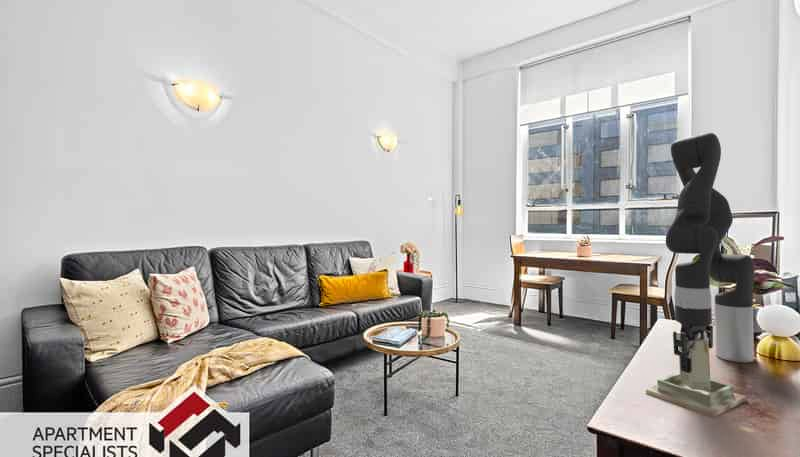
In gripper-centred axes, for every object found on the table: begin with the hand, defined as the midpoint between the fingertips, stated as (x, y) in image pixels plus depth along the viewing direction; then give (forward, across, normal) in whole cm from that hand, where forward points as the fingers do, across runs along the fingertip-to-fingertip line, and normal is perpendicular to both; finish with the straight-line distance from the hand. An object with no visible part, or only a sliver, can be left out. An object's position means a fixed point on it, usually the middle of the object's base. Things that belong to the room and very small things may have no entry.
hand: (694, 368), depth 100 cm
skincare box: (+5, 0, 0) cm, 5 cm away
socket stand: (+7, 0, 0) cm, 7 cm away
